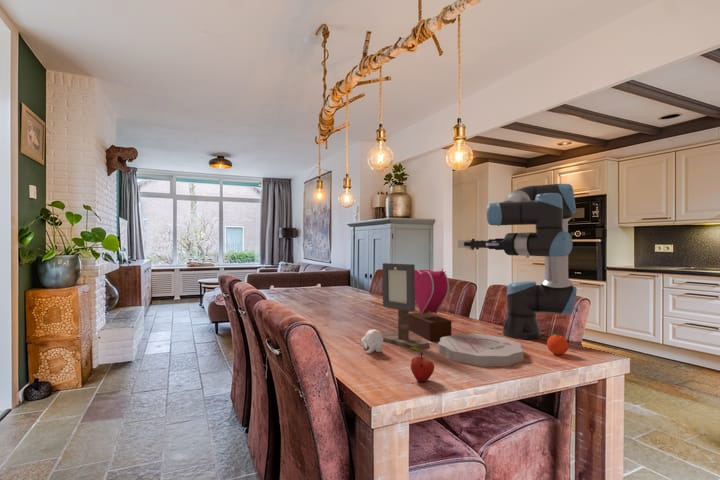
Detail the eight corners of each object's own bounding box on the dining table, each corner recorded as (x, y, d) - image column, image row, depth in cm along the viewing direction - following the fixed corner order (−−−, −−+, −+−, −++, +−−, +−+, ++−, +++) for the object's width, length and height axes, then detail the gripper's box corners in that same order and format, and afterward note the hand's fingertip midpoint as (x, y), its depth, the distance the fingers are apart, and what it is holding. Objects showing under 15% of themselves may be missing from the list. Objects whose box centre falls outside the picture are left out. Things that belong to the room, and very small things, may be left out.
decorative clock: (455, 341, 156) (455, 268, 156) (433, 343, 153) (432, 268, 153) (427, 327, 180) (427, 264, 180) (407, 329, 177) (407, 265, 177)
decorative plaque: (431, 333, 155) (505, 333, 154) (431, 342, 155) (505, 342, 154) (447, 355, 125) (538, 356, 124) (447, 366, 125) (539, 367, 124)
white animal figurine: (368, 331, 136) (356, 327, 147) (369, 355, 135) (356, 349, 146) (384, 329, 139) (371, 326, 150) (385, 353, 138) (371, 348, 149)
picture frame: (415, 310, 146) (414, 264, 147) (410, 311, 145) (410, 264, 145) (386, 306, 159) (386, 263, 159) (381, 306, 157) (381, 263, 157)
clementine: (540, 351, 141) (540, 332, 141) (556, 350, 142) (556, 331, 142) (557, 357, 133) (556, 337, 133) (573, 356, 135) (573, 336, 135)
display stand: (429, 346, 147) (429, 265, 148) (415, 350, 142) (415, 266, 142) (389, 335, 164) (389, 263, 165) (376, 338, 159) (376, 264, 159)
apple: (426, 375, 116) (426, 342, 116) (438, 383, 109) (438, 348, 110) (404, 378, 113) (404, 345, 113) (415, 386, 107) (414, 351, 107)
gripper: (509, 256, 120) (448, 254, 139) (528, 255, 129) (469, 253, 147) (508, 232, 121) (448, 233, 139) (528, 233, 129) (469, 234, 147)
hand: (459, 244), depth 143 cm, fingers closed
